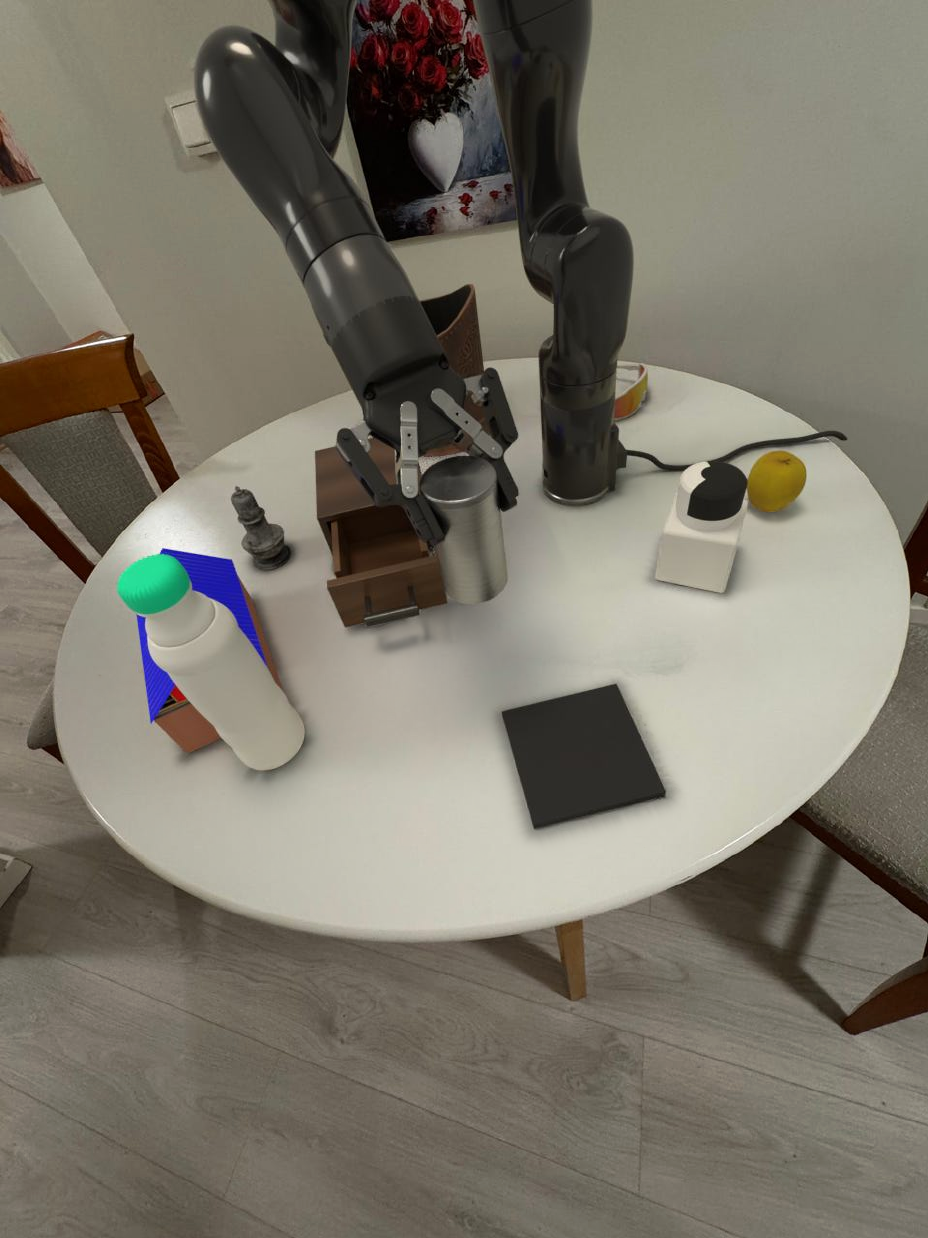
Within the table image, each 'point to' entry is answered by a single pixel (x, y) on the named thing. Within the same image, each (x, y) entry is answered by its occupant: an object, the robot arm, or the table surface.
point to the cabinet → (349, 485)
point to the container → (703, 527)
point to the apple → (776, 481)
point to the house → (162, 692)
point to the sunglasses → (631, 392)
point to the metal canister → (467, 527)
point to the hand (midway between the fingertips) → (475, 524)
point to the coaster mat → (580, 756)
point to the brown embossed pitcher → (458, 344)
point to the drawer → (382, 569)
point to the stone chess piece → (259, 532)
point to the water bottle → (212, 662)
